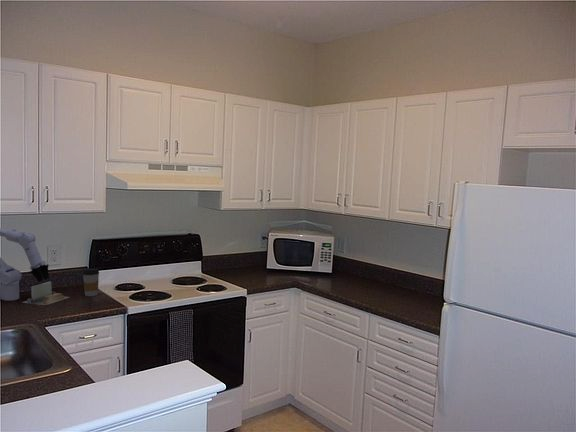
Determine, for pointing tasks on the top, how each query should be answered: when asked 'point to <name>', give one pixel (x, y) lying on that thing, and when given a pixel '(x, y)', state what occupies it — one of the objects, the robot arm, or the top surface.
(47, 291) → the sheet
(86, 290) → the coffee cup
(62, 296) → the offcut lower
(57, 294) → the offcut upper
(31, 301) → the rack
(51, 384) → the top surface
